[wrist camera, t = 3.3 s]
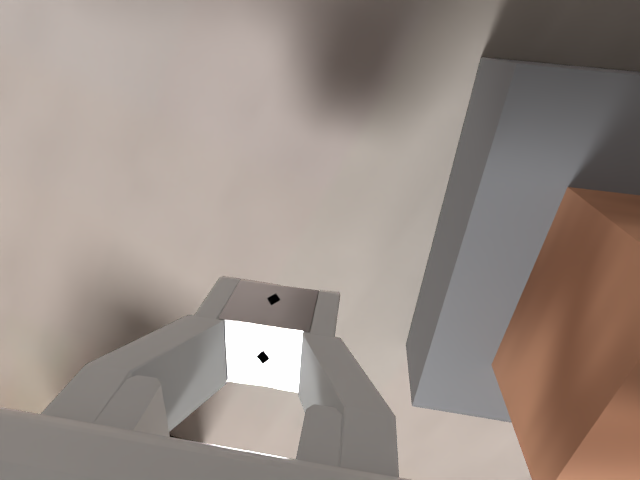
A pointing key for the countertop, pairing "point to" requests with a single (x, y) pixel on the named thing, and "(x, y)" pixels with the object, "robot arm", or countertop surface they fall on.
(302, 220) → the countertop surface
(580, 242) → the terracotta block
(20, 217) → the countertop surface
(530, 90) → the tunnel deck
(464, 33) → the countertop surface
